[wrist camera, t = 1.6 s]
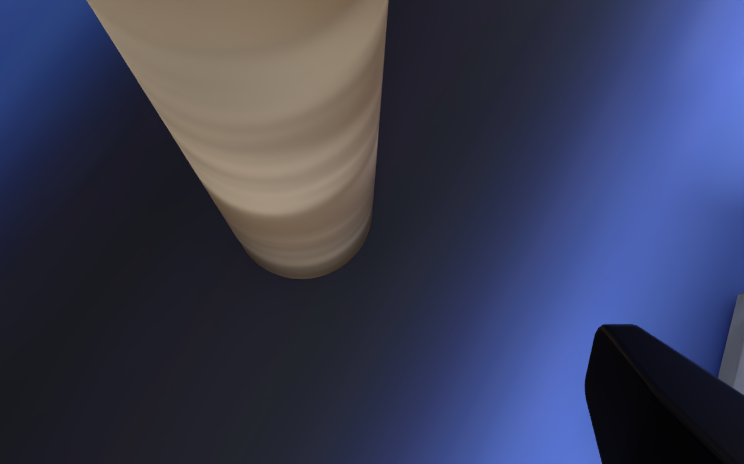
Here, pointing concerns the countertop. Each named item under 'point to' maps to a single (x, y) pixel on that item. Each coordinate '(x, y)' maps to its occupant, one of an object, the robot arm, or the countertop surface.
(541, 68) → the countertop surface
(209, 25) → the dowel
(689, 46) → the countertop surface
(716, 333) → the countertop surface
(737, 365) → the cradle
